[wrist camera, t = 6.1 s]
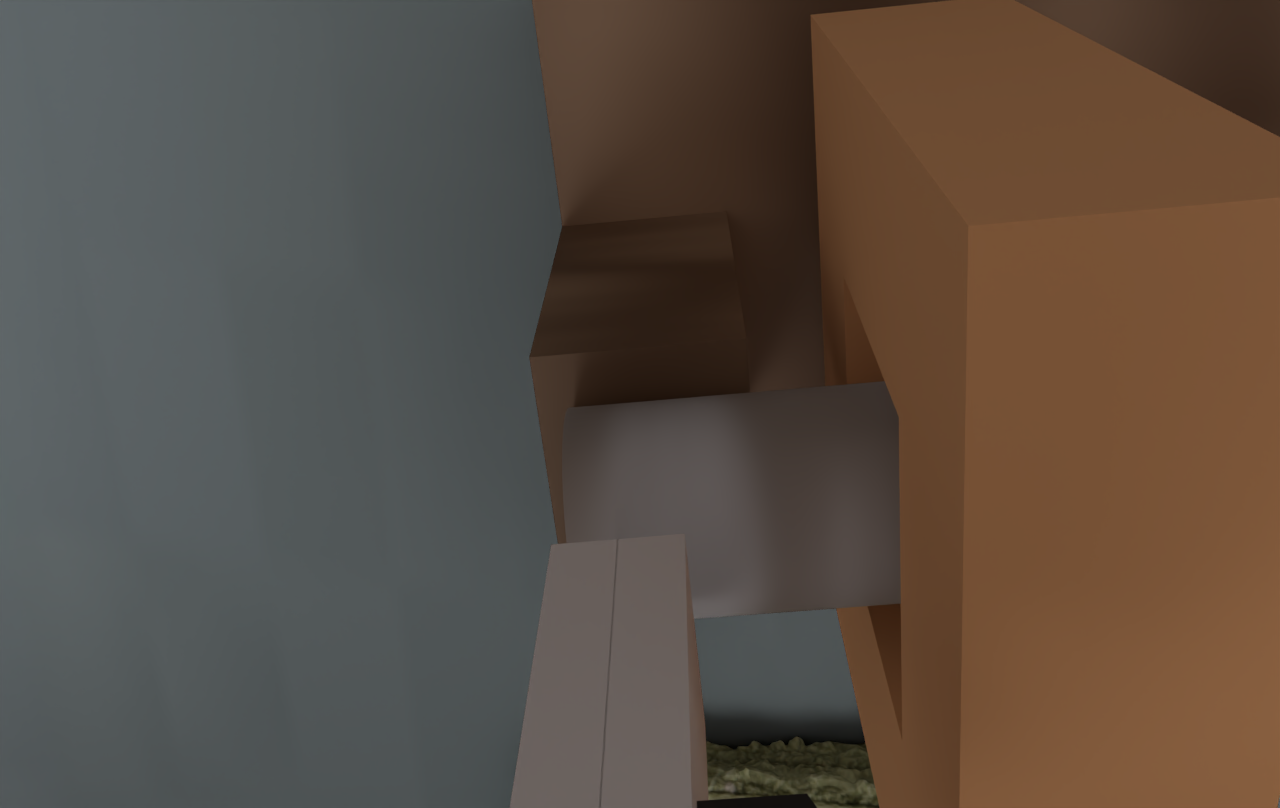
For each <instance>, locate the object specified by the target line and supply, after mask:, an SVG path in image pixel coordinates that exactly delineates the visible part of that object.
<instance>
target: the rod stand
mask: <svg viewBox="0 0 1280 808" xmlns="http://www.w3.org/2000/svg"><path fill="white" fill-rule="evenodd" d="M940 1H949V0H532V4H533V11H534V19H535V26H536V33H537V41H538V48H539V56H540V63H541V71H542V78H543V86H544V93H545V100H546V108H547V115H548V123H549V130H550V138H551V145H552V153H553V160H554V167H555V175H556V182H557V190H558V197H559V205H560V212H561V220H562V230H561V234H560V238H559V242H558V246H557V250H556V254H555V258H554V262H553V266H552V270H551V274H550V278H549V282H548V286H547V290H546V294H545V298H544V301H543V305H542V309H541V313H540V317H539V321H538V325H537V329H536V333H535V337H534V341H533V345H532V349H531V353H530V357H529V358H530V365H531V371H532V378H533V384H534V391H535V397H536V404H537V410H538V417H539V423H540V430H541V436H542V443H543V449H544V456H545V462H546V469H547V475H548V482H549V488H550V495H551V501H552V508H553V514H554V521H555V527H556V534H557V540H558V544H564V543H576V542H589V541H601V540H613V539H625V538H638V537H650V536H662V535H675V534H685V541H686V550H687V559H688V569H689V578H690V587H691V597H692V606H693V615H694V619H697V618H711V617H725V616H739V615H752V614H766V613H780V612H793V611H807V610H821V609H835V608H848V607H862V606H876V605H889V604H901V578H900V487H899V416H898V414H897V411H896V409H895V406H894V404H893V401H892V399H891V396H890V393H889V391H888V388H887V386H886V383H885V381H881V382H869V383H857V384H845V385H833V386H825V368H824V343H823V318H822V293H821V268H820V242H819V217H818V192H817V167H816V142H815V116H814V91H813V66H812V41H811V16H810V15H813V14H823V13H832V12H842V11H852V10H862V9H871V8H881V7H891V6H901V5H910V4H920V3H930V2H940ZM1015 1H1017V2H1019V3H1021V4H1023V5H1025V6H1027V7H1029V8H1030V9H1032V10H1034V11H1036V12H1038V13H1040V14H1042V15H1044V16H1046V17H1048V18H1050V19H1052V20H1054V21H1056V22H1058V23H1060V24H1061V25H1063V26H1065V27H1067V28H1069V29H1071V30H1073V31H1075V32H1077V33H1079V34H1081V35H1083V36H1085V37H1087V38H1089V39H1091V40H1093V41H1094V42H1096V43H1098V44H1100V45H1102V46H1104V47H1106V48H1108V49H1110V50H1112V51H1114V52H1116V53H1118V54H1120V55H1122V56H1124V57H1125V58H1127V59H1129V60H1131V61H1133V62H1135V63H1137V64H1139V65H1141V66H1143V67H1145V68H1147V69H1149V70H1151V71H1153V72H1155V73H1157V74H1158V75H1160V76H1162V77H1164V78H1166V79H1168V80H1170V81H1172V82H1174V83H1176V84H1178V85H1180V86H1182V87H1184V88H1186V89H1188V90H1189V91H1191V92H1193V93H1195V94H1197V95H1199V96H1201V97H1203V98H1205V99H1207V100H1209V101H1211V102H1213V103H1215V104H1217V105H1219V106H1221V107H1222V108H1224V109H1226V110H1228V111H1230V112H1232V113H1234V114H1236V115H1238V116H1240V117H1242V118H1244V119H1246V120H1248V121H1250V122H1252V123H1253V124H1255V125H1257V126H1259V127H1261V128H1263V129H1265V130H1267V131H1269V132H1271V133H1273V134H1275V135H1277V136H1279V137H1280V0H1015Z"/></svg>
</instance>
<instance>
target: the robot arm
mask: <svg viewBox="0 0 1280 808" xmlns="http://www.w3.org/2000/svg"><path fill="white" fill-rule="evenodd" d="M510 808H817V807H816V805H815V804H814V803H813V801H812V800H811V798H810V797H809V796H808V794H792V795H777V796H762V797H747V798H732V799H717V800H709V799H708V776H707V752H706V729H705V718H704V709H703V699H702V690H701V681H700V671H699V662H698V653H697V643H696V634H695V625H694V615H693V606H692V597H691V587H690V578H689V569H688V559H687V550H686V541H685V534H675V535H662V536H650V537H638V538H625V539H613V540H601V541H589V542H576V543H564V544H552V545H551V549H550V556H549V562H548V568H547V575H546V581H545V587H544V594H543V600H542V606H541V613H540V619H539V625H538V632H537V638H536V644H535V651H534V657H533V663H532V670H531V676H530V682H529V689H528V695H527V701H526V708H525V714H524V720H523V727H522V733H521V739H520V746H519V752H518V758H517V764H516V771H515V777H514V783H513V790H512V796H511V802H510Z"/></svg>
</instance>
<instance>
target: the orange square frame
mask: <svg viewBox="0 0 1280 808" xmlns="http://www.w3.org/2000/svg"><path fill="white" fill-rule="evenodd" d="M810 16H811V41H812V66H813V91H814V116H815V142H816V167H817V192H818V217H819V242H820V268H821V293H822V318H823V343H824V368H825V386H833V385H845V384H857V383H869V382H881V381H885V383H886V386H887V388H888V391H889V393H890V396H891V399H892V401H893V404H894V406H895V409H896V411H897V414H898V416H899V487H900V578H901V604H889V605H876V606H862V607H848V608H836V610H837V614H838V619H839V623H840V628H841V633H842V637H843V642H844V646H845V651H846V656H847V660H848V665H849V669H850V674H851V679H852V683H853V688H854V692H855V697H856V702H857V706H858V711H859V715H860V720H861V725H862V729H863V734H864V738H865V743H866V748H867V752H868V757H869V761H870V766H871V771H872V775H873V780H874V784H875V789H876V794H877V798H878V803H879V807H880V808H1277V807H1278V801H1279V795H1280V137H1279V136H1277V135H1275V134H1273V133H1271V132H1269V131H1267V130H1265V129H1263V128H1261V127H1259V126H1257V125H1255V124H1253V123H1252V122H1250V121H1248V120H1246V119H1244V118H1242V117H1240V116H1238V115H1236V114H1234V113H1232V112H1230V111H1228V110H1226V109H1224V108H1222V107H1221V106H1219V105H1217V104H1215V103H1213V102H1211V101H1209V100H1207V99H1205V98H1203V97H1201V96H1199V95H1197V94H1195V93H1193V92H1191V91H1189V90H1188V89H1186V88H1184V87H1182V86H1180V85H1178V84H1176V83H1174V82H1172V81H1170V80H1168V79H1166V78H1164V77H1162V76H1160V75H1158V74H1157V73H1155V72H1153V71H1151V70H1149V69H1147V68H1145V67H1143V66H1141V65H1139V64H1137V63H1135V62H1133V61H1131V60H1129V59H1127V58H1125V57H1124V56H1122V55H1120V54H1118V53H1116V52H1114V51H1112V50H1110V49H1108V48H1106V47H1104V46H1102V45H1100V44H1098V43H1096V42H1094V41H1093V40H1091V39H1089V38H1087V37H1085V36H1083V35H1081V34H1079V33H1077V32H1075V31H1073V30H1071V29H1069V28H1067V27H1065V26H1063V25H1061V24H1060V23H1058V22H1056V21H1054V20H1052V19H1050V18H1048V17H1046V16H1044V15H1042V14H1040V13H1038V12H1036V11H1034V10H1032V9H1030V8H1029V7H1027V6H1025V5H1023V4H1021V3H1019V2H1017V1H1015V0H949V1H940V2H930V3H920V4H910V5H901V6H891V7H881V8H871V9H862V10H852V11H842V12H832V13H823V14H813V15H810Z"/></svg>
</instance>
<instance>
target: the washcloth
mask: <svg viewBox="0 0 1280 808" xmlns="http://www.w3.org/2000/svg"><path fill="white" fill-rule="evenodd" d="M706 752H707V776H708V799H709V800H717V799H732V798H747V797H762V796H777V795H792V794H808V796H809V797H810V798H811V800H812V801H813V803H814V804H815V805H816V807H817V808H880V807H879V803H878V798H877V794H876V789H875V784H874V780H873V775H872V771H871V766H870V761H869V757H868V752H867V748H866V743H860V744H845V743H837V742H832V741H826V742H822V743H819V742H815V743H813V744H811V745H809V746H805V744H804V742H803V740H802V739H801V738H799V737H795V738H793V739H792V740H790V741H789V743H788V745H785V744H784V742H782V741H777V742H773V743H771V745H768V746H763V745H762V744H760V743H759V742H756V741H752V743H751V744H750V745H749V746H738V748H737V749H736V750H733V749H731V748H730V747H728V746H726V745H721V746H720V745H717V744H713V743H710V742H708V741H707V742H706Z"/></svg>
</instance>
